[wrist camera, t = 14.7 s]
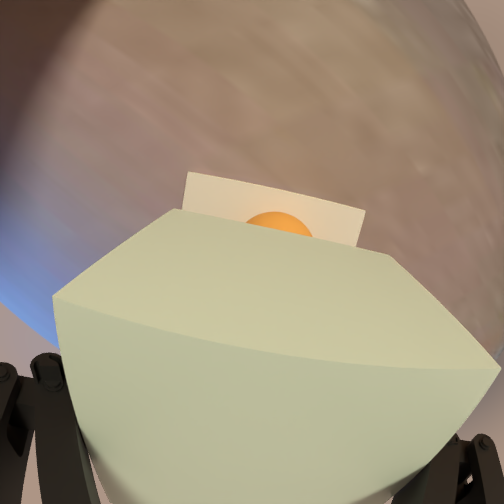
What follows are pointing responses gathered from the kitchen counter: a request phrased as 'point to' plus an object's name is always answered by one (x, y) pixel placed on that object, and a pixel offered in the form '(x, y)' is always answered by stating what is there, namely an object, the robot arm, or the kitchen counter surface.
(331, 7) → the kitchen counter surface
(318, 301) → the pale green cube
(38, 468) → the robot arm
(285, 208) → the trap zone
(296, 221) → the ball
